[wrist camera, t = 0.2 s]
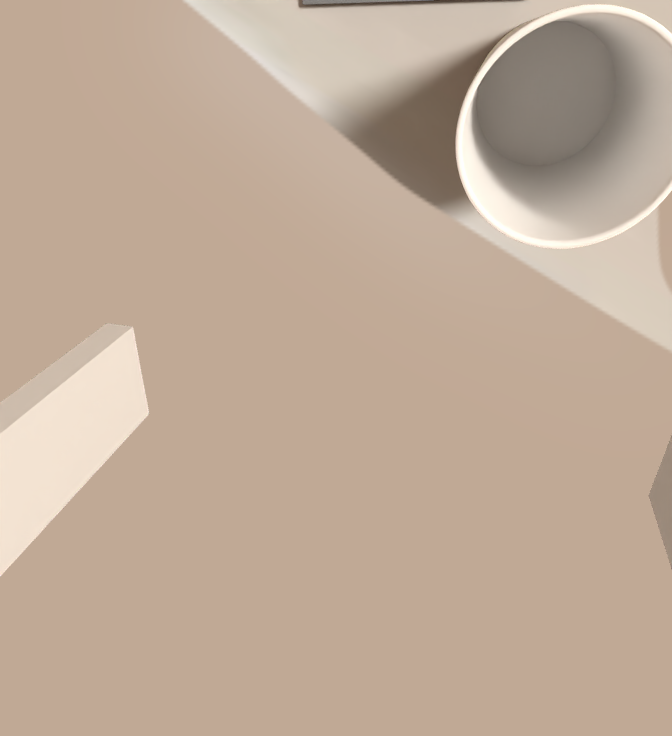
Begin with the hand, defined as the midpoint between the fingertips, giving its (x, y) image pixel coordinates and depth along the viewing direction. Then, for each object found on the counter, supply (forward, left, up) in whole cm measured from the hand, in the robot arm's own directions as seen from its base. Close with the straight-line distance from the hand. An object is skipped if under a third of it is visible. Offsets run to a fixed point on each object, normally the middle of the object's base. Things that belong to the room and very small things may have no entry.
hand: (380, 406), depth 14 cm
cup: (-4, +5, -28) cm, 29 cm away
